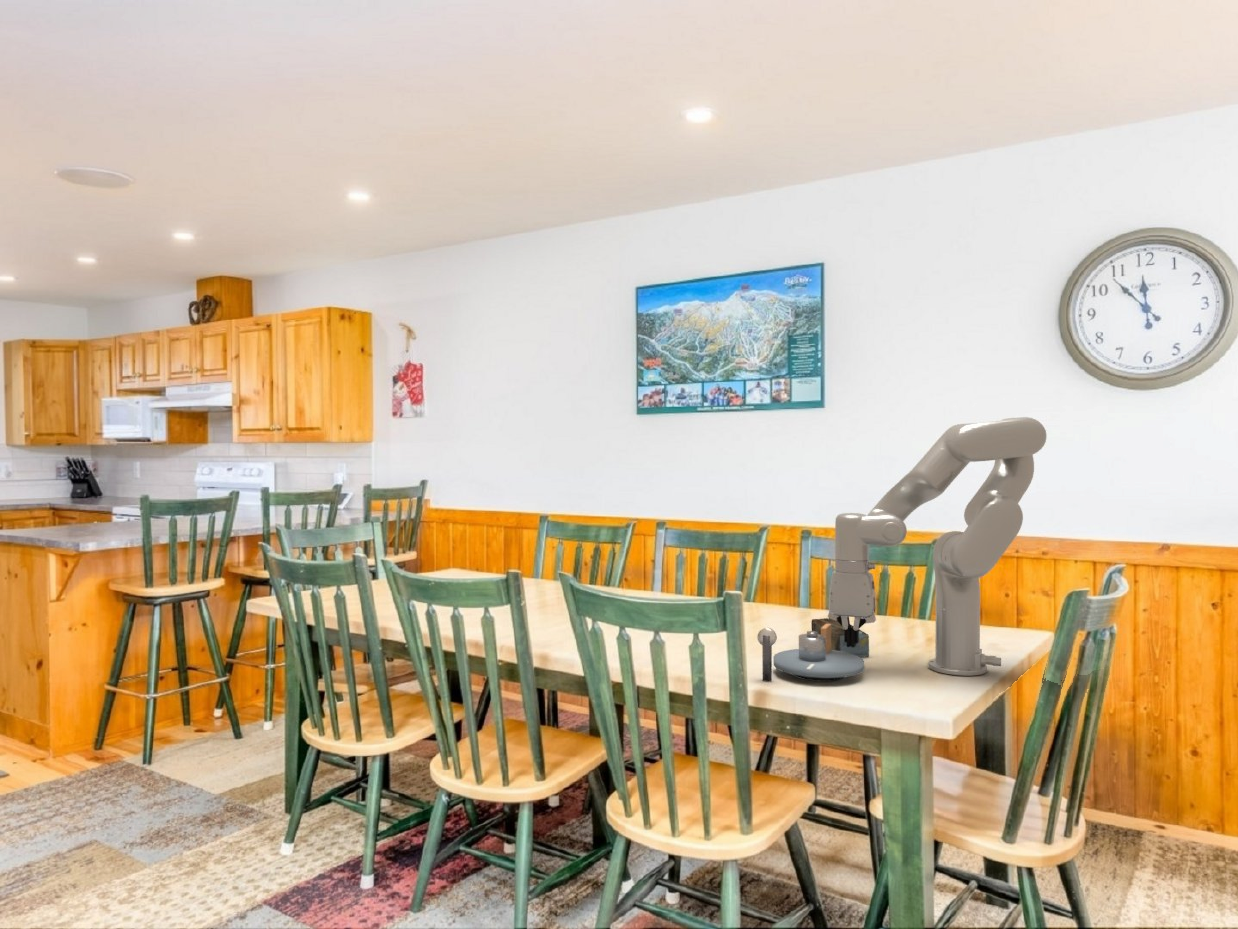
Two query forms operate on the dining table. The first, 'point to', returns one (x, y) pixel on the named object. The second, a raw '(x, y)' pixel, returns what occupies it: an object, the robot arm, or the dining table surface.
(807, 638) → the cover
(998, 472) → the robot arm
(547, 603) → the dining table surface
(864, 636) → the beverage carton
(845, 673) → the turntable
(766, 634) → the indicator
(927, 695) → the dining table surface
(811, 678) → the pedestal
